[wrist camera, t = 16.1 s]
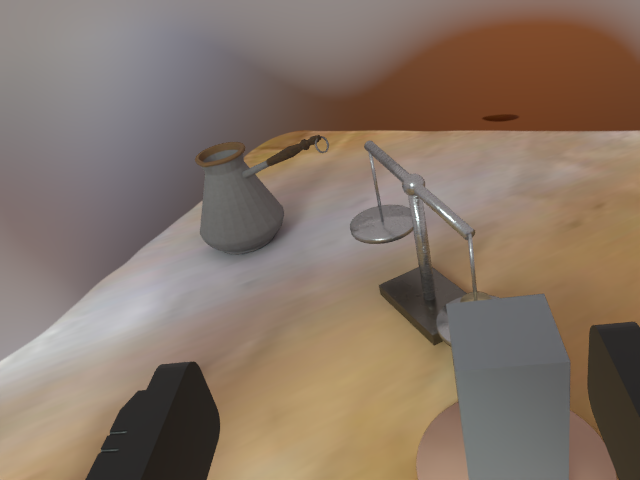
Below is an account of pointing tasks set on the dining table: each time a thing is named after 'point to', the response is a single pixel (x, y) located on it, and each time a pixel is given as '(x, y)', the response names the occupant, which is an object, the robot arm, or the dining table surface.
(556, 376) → the grey rectangular block
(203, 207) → the coffee pot
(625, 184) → the dining table surface
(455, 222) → the tipped balance
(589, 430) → the terracotta dish
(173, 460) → the robot arm
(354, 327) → the dining table surface
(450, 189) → the dining table surface
